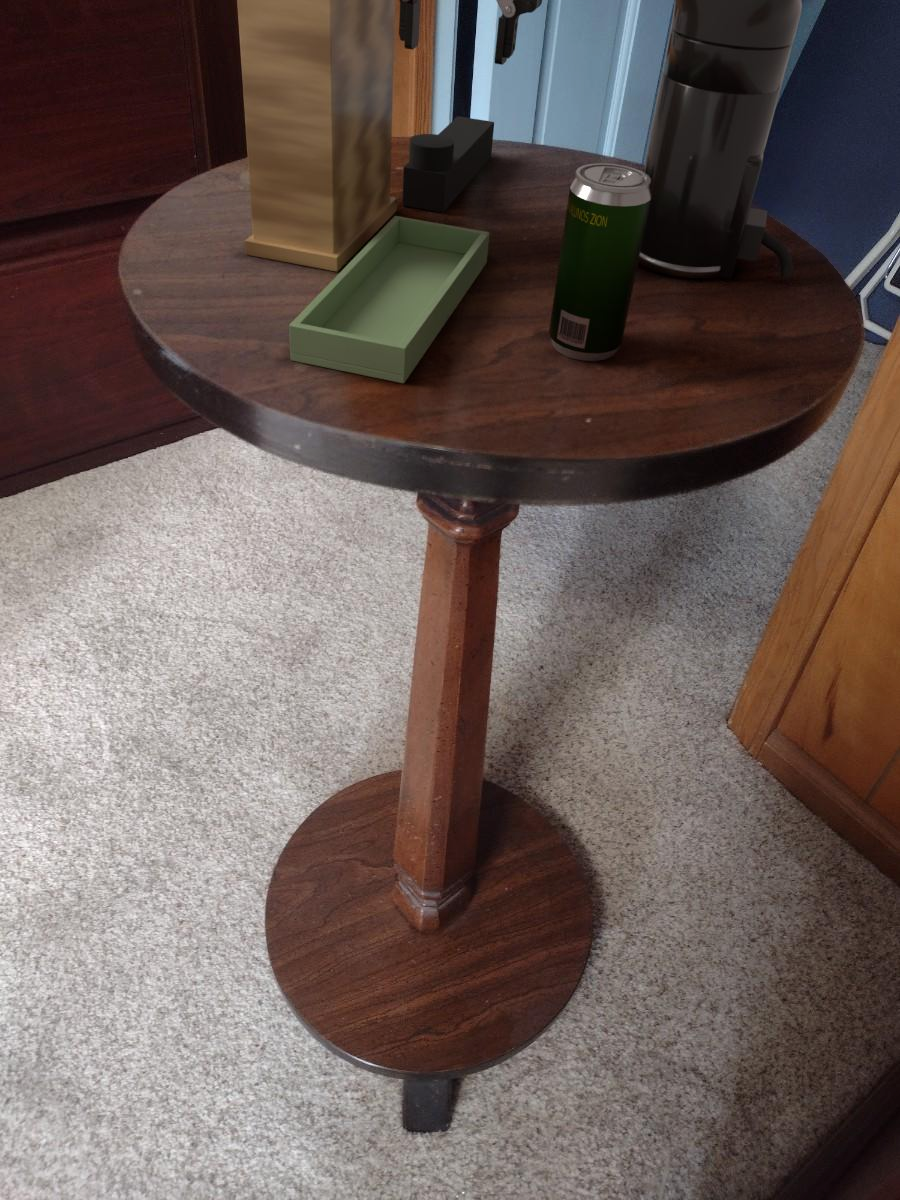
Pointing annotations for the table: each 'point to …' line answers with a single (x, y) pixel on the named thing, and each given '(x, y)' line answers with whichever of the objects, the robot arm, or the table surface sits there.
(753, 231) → the robot arm
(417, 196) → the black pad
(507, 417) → the table surface
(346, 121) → the stand
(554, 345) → the beer can
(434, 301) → the green rectangular tray
